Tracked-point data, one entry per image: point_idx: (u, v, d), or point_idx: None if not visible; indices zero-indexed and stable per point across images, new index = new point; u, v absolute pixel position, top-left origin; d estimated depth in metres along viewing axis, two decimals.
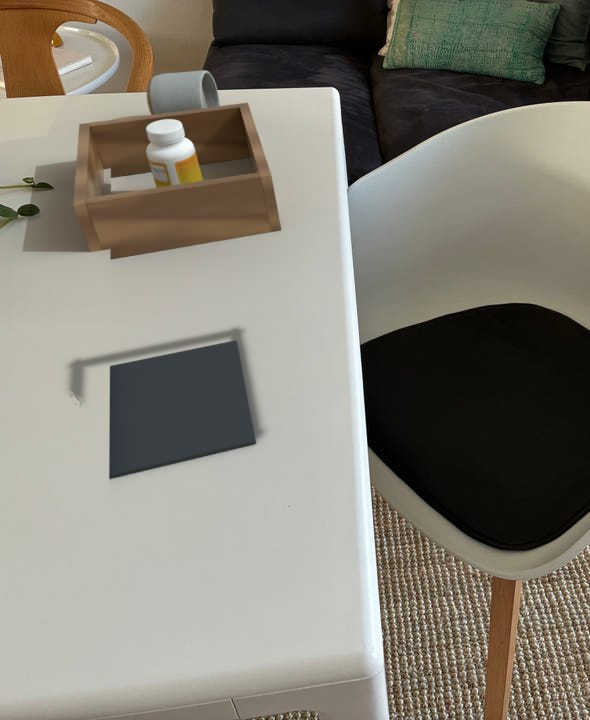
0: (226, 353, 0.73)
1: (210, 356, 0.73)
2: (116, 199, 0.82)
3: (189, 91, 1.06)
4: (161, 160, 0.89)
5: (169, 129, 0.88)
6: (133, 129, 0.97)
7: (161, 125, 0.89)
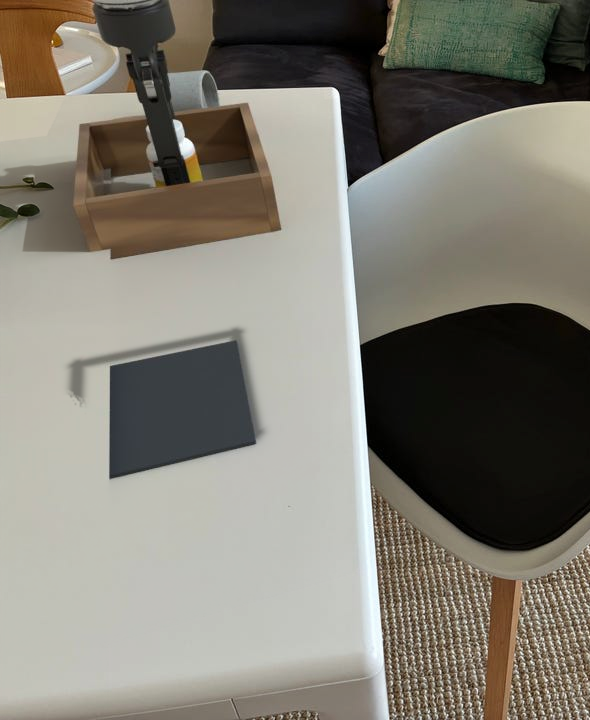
0: (226, 353, 0.73)
1: (210, 356, 0.73)
2: (116, 199, 0.82)
3: (189, 91, 1.06)
4: None
5: None
6: (133, 129, 0.97)
7: None
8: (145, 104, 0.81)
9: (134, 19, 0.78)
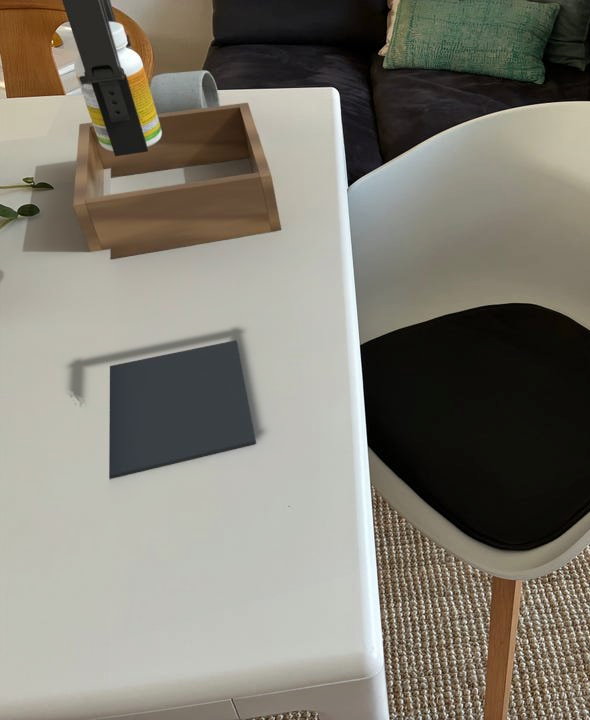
0: (226, 353, 0.73)
1: (210, 356, 0.73)
2: (116, 199, 0.82)
3: (189, 91, 1.06)
4: None
5: None
6: None
7: None
8: None
9: None
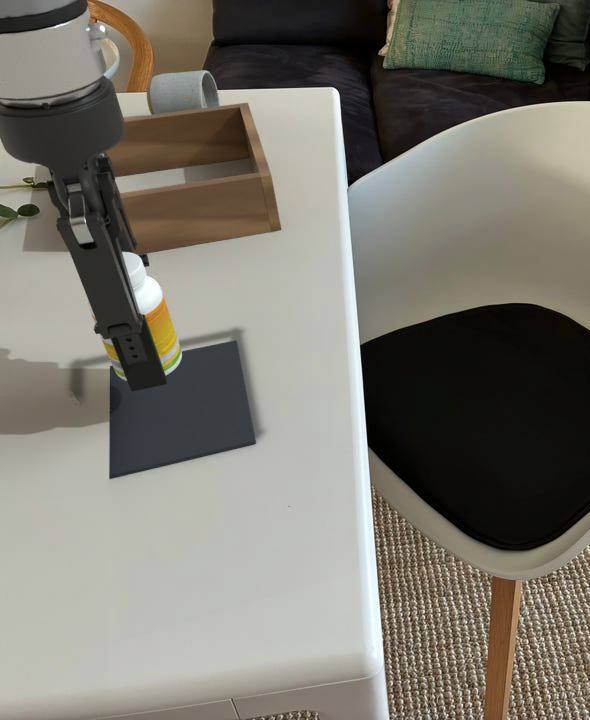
0: (226, 353, 0.73)
1: (210, 356, 0.73)
2: None
3: (189, 91, 1.06)
4: None
5: None
6: (133, 129, 0.97)
7: None
8: (75, 253, 0.50)
9: (52, 121, 0.47)
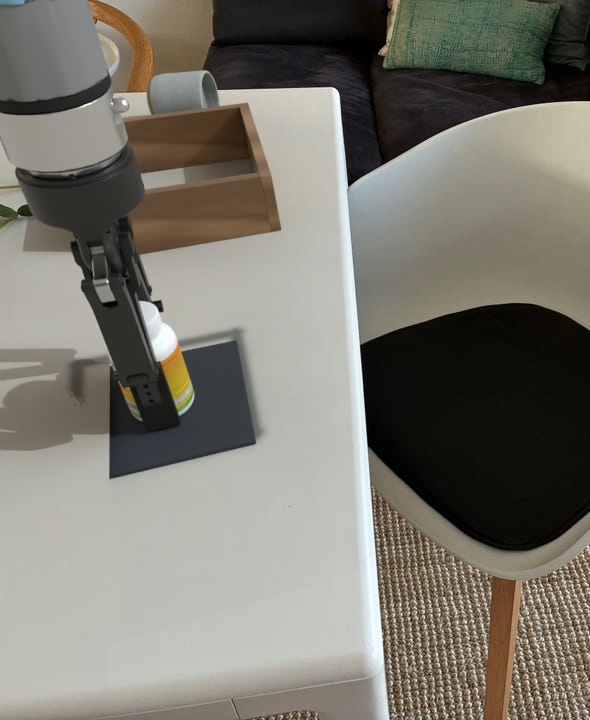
0: (226, 353, 0.73)
1: (210, 356, 0.73)
2: None
3: (189, 91, 1.06)
4: None
5: None
6: (133, 129, 0.97)
7: None
8: (98, 311, 0.54)
9: (78, 191, 0.50)
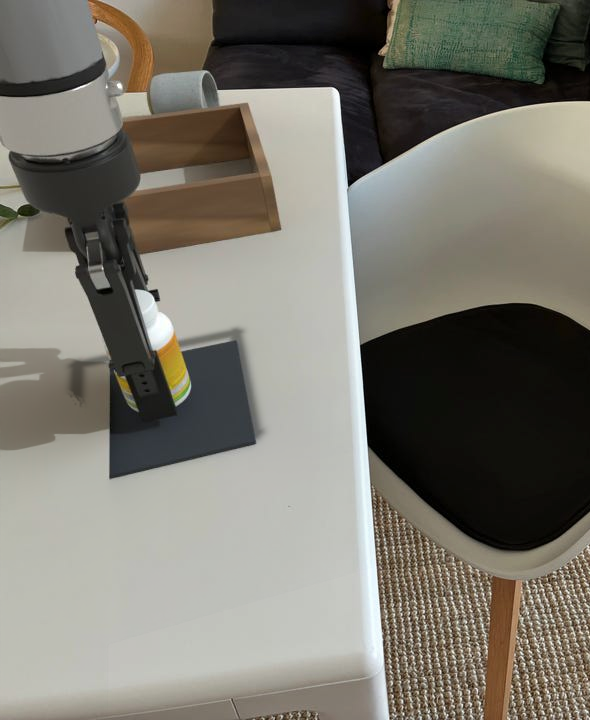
0: (226, 353, 0.73)
1: (210, 356, 0.73)
2: None
3: (189, 91, 1.06)
4: None
5: None
6: (133, 129, 0.97)
7: None
8: (92, 298, 0.53)
9: (72, 176, 0.50)
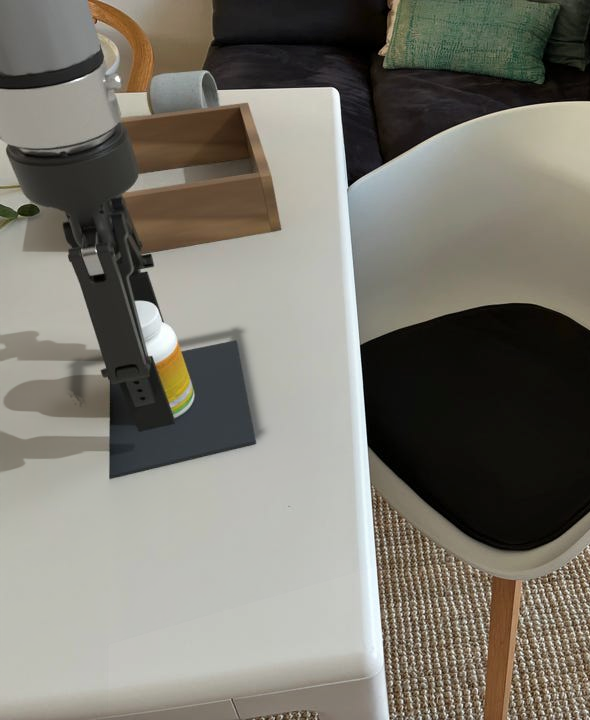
0: (226, 353, 0.73)
1: (210, 356, 0.73)
2: None
3: (189, 91, 1.06)
4: None
5: None
6: (133, 129, 0.97)
7: None
8: (85, 286, 0.51)
9: (70, 169, 0.49)
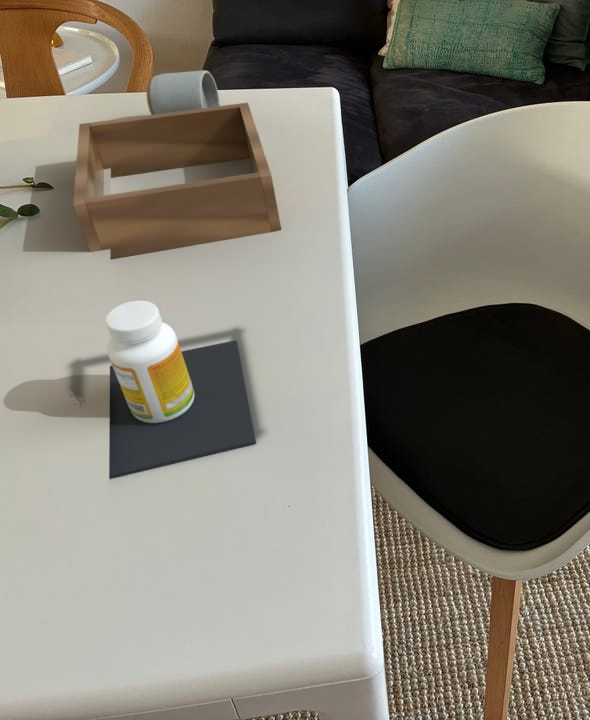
0: (226, 353, 0.73)
1: (210, 356, 0.73)
2: (116, 199, 0.82)
3: (189, 91, 1.06)
4: (128, 365, 0.61)
5: (140, 322, 0.61)
6: (133, 129, 0.97)
7: (128, 313, 0.62)
8: None
9: None
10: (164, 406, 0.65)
